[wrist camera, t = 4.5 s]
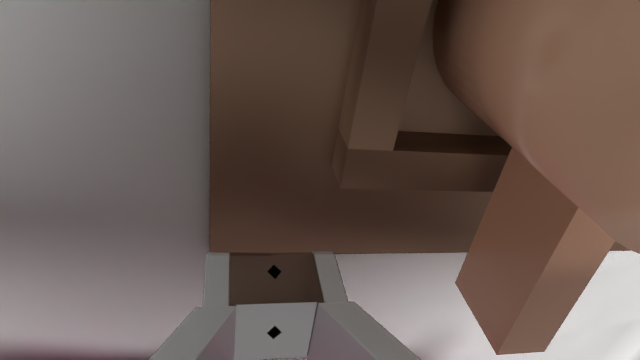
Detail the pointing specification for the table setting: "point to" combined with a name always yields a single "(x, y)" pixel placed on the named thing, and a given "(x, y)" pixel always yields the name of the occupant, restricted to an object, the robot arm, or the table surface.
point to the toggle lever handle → (546, 151)
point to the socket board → (341, 132)
